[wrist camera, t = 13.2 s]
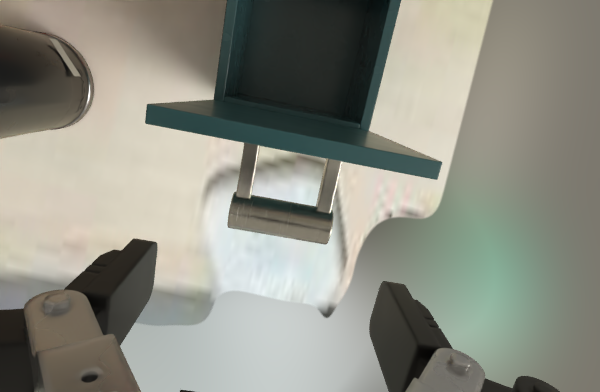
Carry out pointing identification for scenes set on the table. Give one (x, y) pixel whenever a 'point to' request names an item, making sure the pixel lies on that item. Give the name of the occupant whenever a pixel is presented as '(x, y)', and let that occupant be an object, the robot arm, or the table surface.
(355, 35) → the waste bin
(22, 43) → the robot arm
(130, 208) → the table surface
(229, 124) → the bin lid
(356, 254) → the table surface
